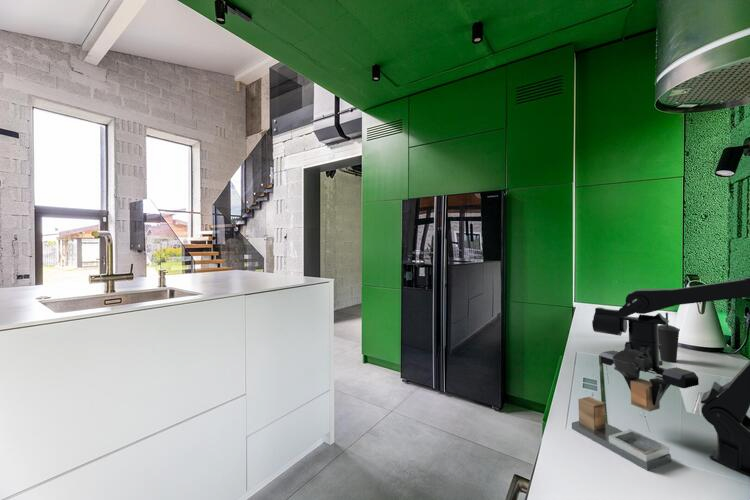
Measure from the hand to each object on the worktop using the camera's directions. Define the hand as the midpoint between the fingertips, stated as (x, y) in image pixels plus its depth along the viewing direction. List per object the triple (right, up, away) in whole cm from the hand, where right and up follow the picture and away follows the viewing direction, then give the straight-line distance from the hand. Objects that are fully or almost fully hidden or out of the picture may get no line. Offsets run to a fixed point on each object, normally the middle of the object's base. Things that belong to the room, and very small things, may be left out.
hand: (645, 401), depth 79 cm
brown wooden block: (-12, -7, +2) cm, 14 cm away
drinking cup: (+55, -8, +52) cm, 76 cm away
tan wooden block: (0, -1, 0) cm, 1 cm away
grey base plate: (-10, -8, -4) cm, 14 cm away
